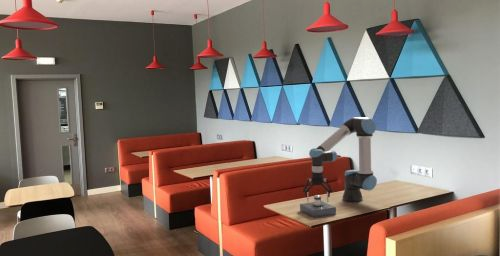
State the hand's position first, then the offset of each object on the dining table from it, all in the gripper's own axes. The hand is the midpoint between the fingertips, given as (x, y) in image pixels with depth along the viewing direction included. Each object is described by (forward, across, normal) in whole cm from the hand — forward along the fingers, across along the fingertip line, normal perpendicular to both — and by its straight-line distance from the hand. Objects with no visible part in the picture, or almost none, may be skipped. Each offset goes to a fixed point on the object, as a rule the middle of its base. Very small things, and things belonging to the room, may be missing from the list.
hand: (317, 201), depth 285 cm
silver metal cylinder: (+8, 0, 0) cm, 8 cm away
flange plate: (+8, 0, 0) cm, 8 cm away
